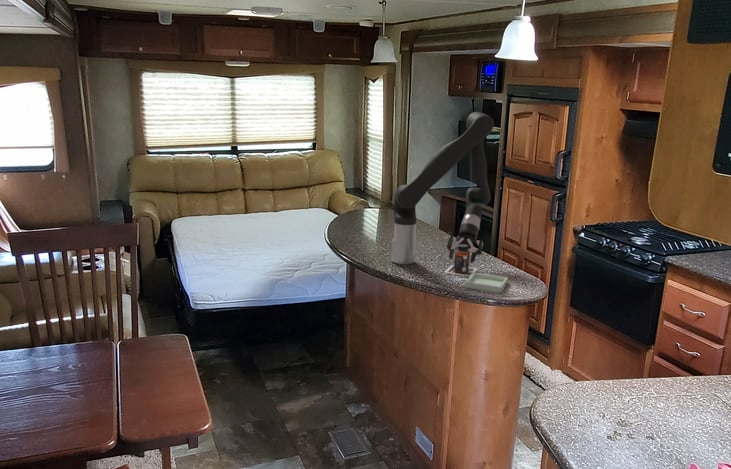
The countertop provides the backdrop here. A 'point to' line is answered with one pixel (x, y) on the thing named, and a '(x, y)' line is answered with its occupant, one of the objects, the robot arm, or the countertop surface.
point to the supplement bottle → (462, 259)
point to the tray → (486, 282)
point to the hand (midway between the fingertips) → (461, 260)
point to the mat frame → (459, 274)
